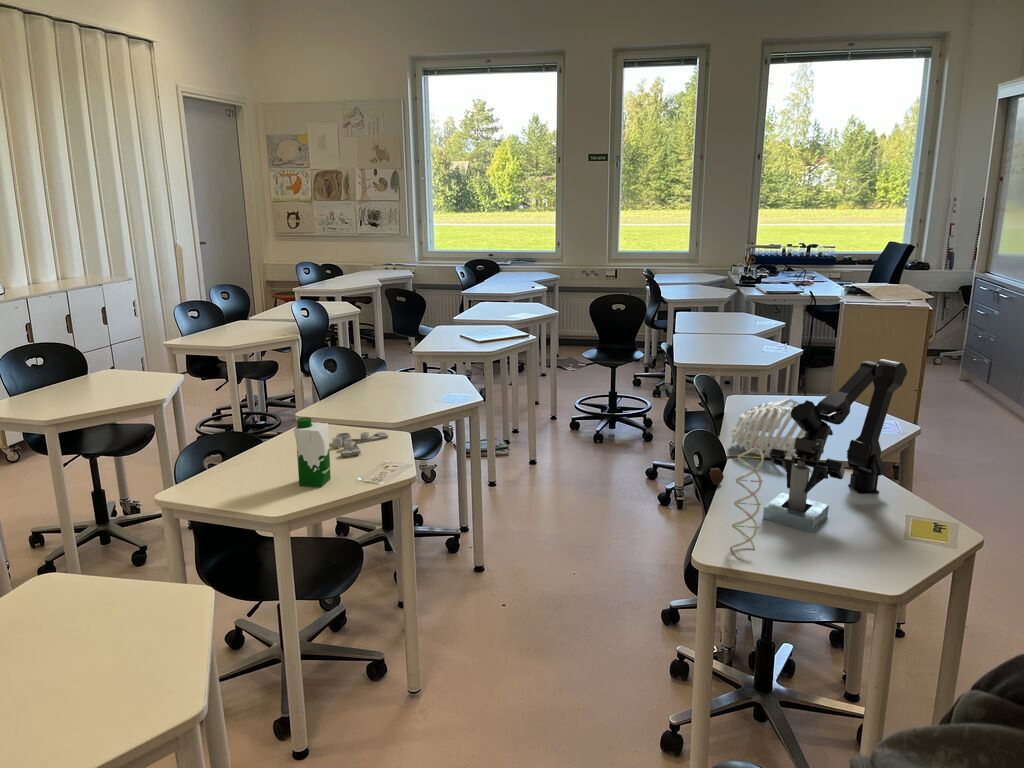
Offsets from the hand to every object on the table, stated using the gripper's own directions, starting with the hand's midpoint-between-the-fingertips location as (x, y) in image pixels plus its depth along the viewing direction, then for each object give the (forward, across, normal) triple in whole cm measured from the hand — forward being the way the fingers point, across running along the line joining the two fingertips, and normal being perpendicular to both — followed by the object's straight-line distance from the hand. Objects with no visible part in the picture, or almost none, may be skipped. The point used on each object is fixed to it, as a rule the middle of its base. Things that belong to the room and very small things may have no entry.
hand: (796, 490), depth 195 cm
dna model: (+24, -4, -12) cm, 27 cm away
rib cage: (-30, -25, +42) cm, 57 cm away
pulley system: (+32, -140, -19) cm, 145 cm away
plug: (+4, 0, +6) cm, 7 cm away
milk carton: (+53, -121, -42) cm, 139 cm away
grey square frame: (+5, 0, +7) cm, 9 cm away
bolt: (-4, -32, +17) cm, 37 cm away
